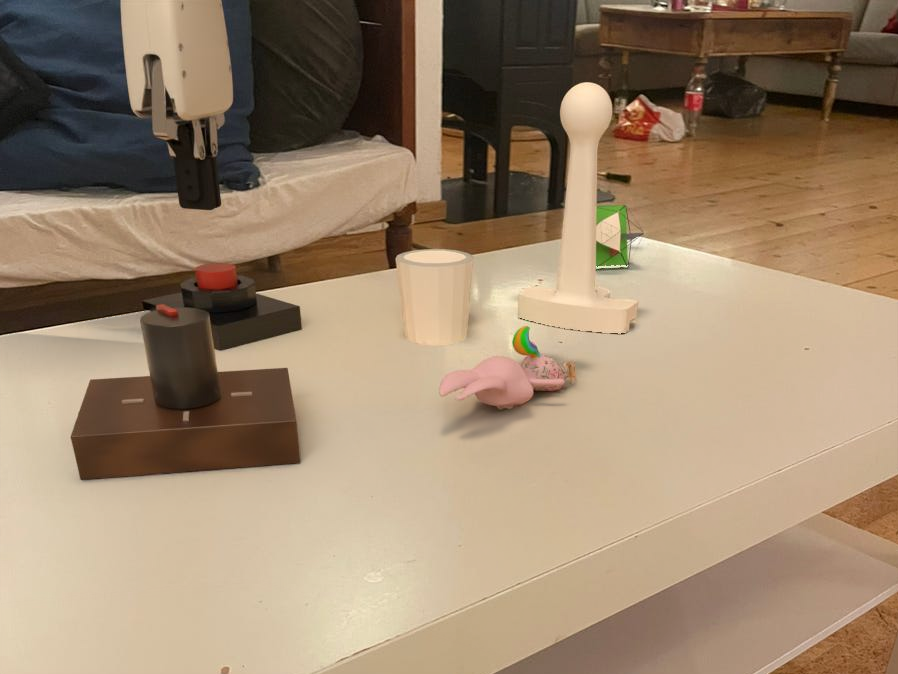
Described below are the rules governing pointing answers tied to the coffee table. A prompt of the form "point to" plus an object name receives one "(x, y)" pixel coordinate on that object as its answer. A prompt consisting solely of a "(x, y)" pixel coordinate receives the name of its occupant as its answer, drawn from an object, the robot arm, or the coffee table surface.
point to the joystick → (580, 230)
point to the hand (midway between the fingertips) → (200, 207)
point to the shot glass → (435, 295)
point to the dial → (180, 357)
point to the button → (216, 276)
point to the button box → (235, 312)
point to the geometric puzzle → (613, 236)
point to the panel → (185, 427)
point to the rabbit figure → (509, 376)
